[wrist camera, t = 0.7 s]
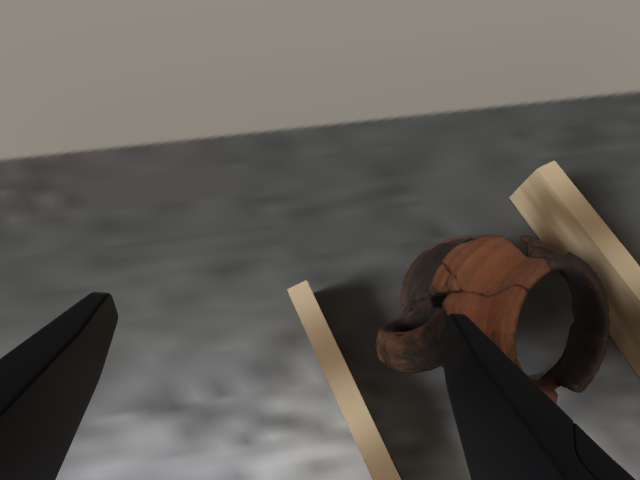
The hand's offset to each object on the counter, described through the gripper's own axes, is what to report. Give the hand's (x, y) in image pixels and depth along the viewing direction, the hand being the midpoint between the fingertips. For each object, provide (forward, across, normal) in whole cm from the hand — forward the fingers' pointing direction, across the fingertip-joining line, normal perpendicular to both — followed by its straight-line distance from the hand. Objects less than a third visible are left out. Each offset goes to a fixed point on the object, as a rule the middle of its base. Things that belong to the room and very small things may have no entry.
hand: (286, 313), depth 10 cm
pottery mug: (+8, -11, +10) cm, 17 cm away
